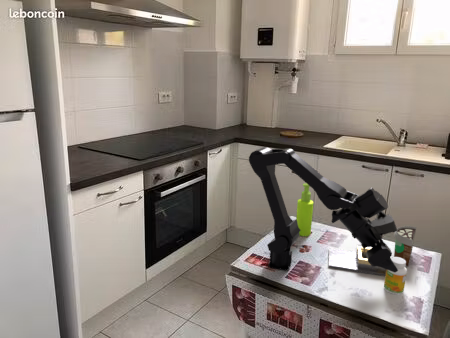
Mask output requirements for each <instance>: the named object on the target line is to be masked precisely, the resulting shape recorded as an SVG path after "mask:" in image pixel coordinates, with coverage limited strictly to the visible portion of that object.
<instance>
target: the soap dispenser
mask: <svg viewBox="0 0 450 338" xmlns="http://www.w3.org/2000/svg"><path fill="white" fill-rule="evenodd" d="M302 186H303V187H304V189H303V191H302V192H301V198H299V199H297V204H296V205H297V208H296V217H295V220H297V223H298V227H299V229H300V230H301V231H300V232H299V234H300V235H299V237H309V236H311V234H312V233H311V232H312V222H313V213H314V204H315V203H314V201H313V200H312V199H311V196H312V193H311V191H310V188H311V187H310V186H309V185H308V184H307V183H306V182H305V183H302Z"/></svg>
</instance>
